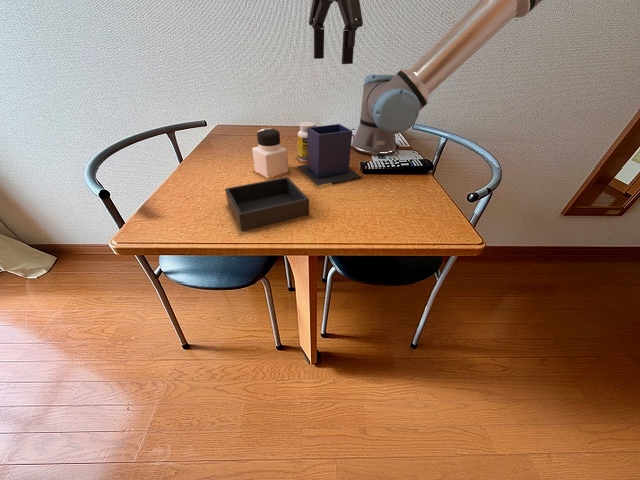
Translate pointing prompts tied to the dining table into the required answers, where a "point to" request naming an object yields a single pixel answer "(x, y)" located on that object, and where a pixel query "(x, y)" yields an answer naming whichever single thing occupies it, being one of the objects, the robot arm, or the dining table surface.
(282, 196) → the bin
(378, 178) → the dining table surface
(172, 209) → the dining table surface
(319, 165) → the inner bin
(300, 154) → the pill bottle
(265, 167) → the medicine bottle
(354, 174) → the mat
